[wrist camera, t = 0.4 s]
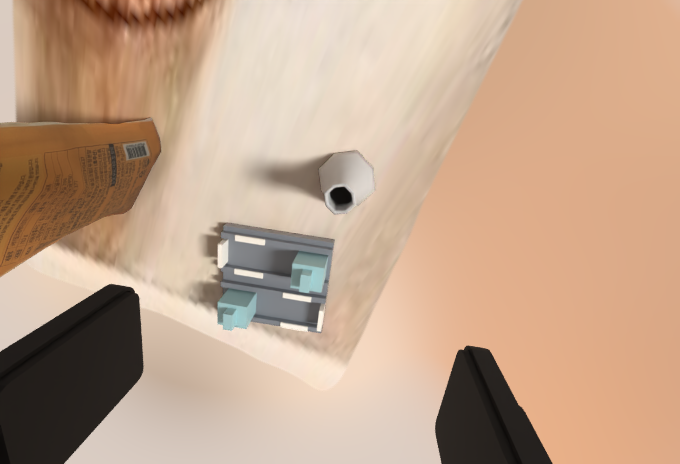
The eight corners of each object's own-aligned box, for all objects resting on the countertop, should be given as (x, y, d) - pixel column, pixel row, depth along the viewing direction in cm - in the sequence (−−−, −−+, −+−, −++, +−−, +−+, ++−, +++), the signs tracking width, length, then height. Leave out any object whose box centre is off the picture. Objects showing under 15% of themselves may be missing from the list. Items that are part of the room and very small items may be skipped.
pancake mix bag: (187, 131, 42) (-119, 167, 16) (129, 240, 48) (-161, 397, 22) (140, 96, 41) (-270, 74, 15) (87, 213, 47) (-268, 342, 21)
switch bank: (227, 222, 46) (216, 230, 43) (334, 239, 45) (332, 248, 42) (226, 310, 51) (216, 323, 48) (322, 327, 50) (319, 340, 47)
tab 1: (229, 287, 48) (212, 308, 43) (256, 291, 48) (243, 313, 42) (229, 307, 49) (212, 330, 44) (255, 312, 49) (242, 335, 44)
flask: (333, 215, 44) (323, 243, 35) (309, 165, 42) (291, 181, 33) (384, 193, 42) (388, 216, 33) (361, 140, 40) (357, 149, 31)
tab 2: (299, 250, 45) (289, 268, 40) (328, 255, 45) (322, 273, 39) (296, 273, 46) (287, 293, 41) (325, 277, 46) (319, 299, 41)
